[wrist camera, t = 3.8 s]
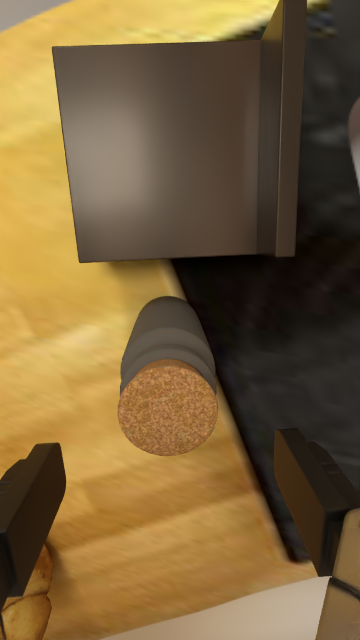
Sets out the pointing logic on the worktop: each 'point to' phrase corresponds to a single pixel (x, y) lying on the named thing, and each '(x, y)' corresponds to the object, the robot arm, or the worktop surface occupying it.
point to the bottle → (167, 380)
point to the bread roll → (31, 604)
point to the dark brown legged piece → (185, 144)
